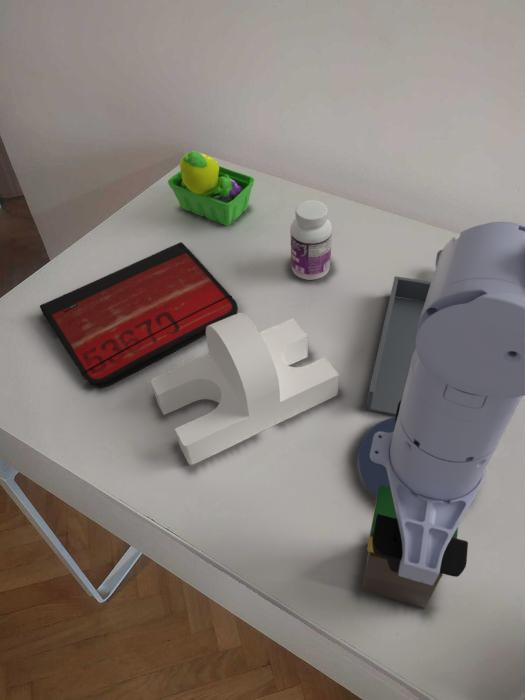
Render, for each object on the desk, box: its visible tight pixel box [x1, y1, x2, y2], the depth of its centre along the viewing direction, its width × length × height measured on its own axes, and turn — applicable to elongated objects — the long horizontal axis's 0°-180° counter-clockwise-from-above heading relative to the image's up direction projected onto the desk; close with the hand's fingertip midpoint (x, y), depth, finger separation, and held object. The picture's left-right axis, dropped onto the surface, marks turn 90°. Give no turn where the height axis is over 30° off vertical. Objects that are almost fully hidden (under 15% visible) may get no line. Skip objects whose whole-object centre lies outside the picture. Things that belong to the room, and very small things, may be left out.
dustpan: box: [365, 275, 431, 417], centre depth 68 cm, size 25×12×3 cm, turn 163°
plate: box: [357, 416, 396, 502], centre depth 57 cm, size 11×11×1 cm
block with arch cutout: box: [150, 312, 340, 466], centre depth 60 cm, size 18×10×11 cm, turn 118°
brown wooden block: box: [361, 551, 444, 609], centre depth 48 cm, size 4×6×8 cm
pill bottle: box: [290, 199, 333, 281], centre depth 75 cm, size 5×5×10 cm
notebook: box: [39, 241, 239, 388], centre depth 73 cm, size 16×2×21 cm
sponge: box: [366, 485, 459, 553], centre depth 44 cm, size 4×6×4 cm, turn 73°
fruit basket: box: [167, 150, 255, 227], centre depth 84 cm, size 11×9×11 cm
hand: (412, 520), depth 43 cm, fingers open, 7 cm apart
